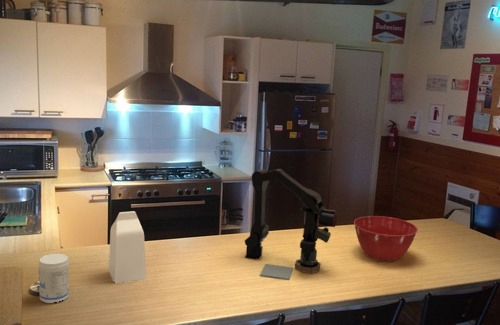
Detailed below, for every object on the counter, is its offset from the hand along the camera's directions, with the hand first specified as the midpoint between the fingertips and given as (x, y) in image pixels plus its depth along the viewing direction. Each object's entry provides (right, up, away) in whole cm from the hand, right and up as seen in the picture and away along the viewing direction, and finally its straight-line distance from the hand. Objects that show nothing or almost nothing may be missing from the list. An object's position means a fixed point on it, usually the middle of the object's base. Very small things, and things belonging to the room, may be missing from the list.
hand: (308, 257), depth 203 cm
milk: (-73, -4, -15) cm, 75 cm away
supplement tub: (-93, -7, -36) cm, 100 cm away
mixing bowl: (+37, -4, +20) cm, 42 cm away
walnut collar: (0, -5, +1) cm, 5 cm away
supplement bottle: (0, -5, +1) cm, 5 cm away
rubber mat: (-14, -5, -4) cm, 15 cm away
